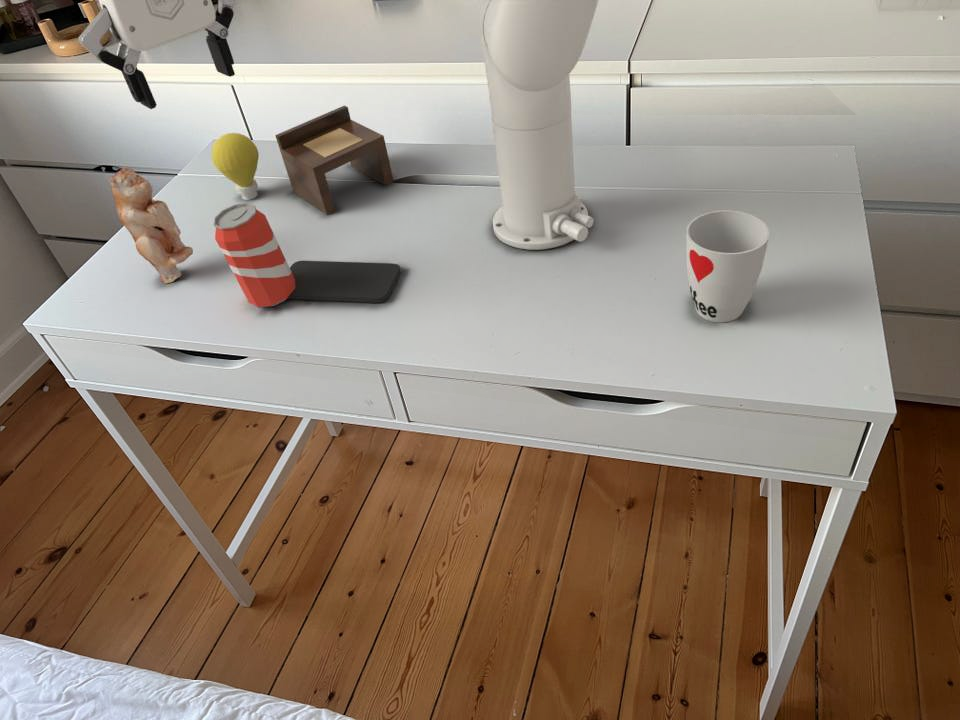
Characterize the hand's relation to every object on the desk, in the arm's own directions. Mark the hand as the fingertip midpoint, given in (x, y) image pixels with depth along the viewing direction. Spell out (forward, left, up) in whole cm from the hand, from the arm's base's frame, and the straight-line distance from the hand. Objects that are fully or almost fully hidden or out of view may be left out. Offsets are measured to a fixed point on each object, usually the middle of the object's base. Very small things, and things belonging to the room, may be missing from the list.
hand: (188, 89), depth 86 cm
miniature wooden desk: (+10, -20, -25) cm, 33 cm away
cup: (-49, -33, -25) cm, 64 cm away
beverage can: (-7, +1, -25) cm, 26 cm away
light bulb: (+20, -9, -25) cm, 33 cm away
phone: (-11, -6, -25) cm, 28 cm away
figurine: (+9, +8, -25) cm, 28 cm away
